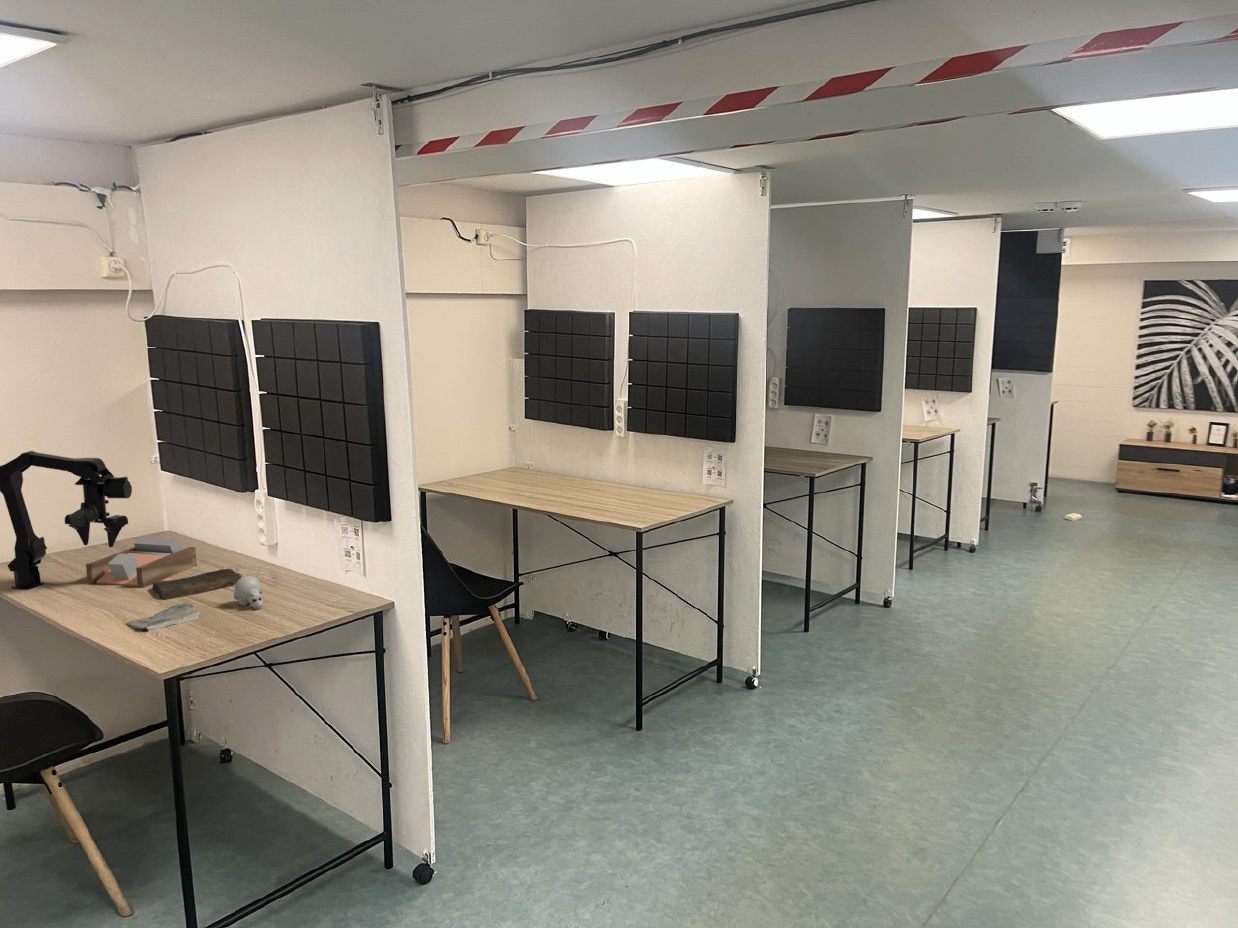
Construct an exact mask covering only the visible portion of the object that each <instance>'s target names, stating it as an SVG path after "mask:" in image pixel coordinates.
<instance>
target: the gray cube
mask: <svg viewBox="0 0 1238 928" xmlns="http://www.w3.org/2000/svg"><path fill="white" fill-rule="evenodd" d="M118 553H119V552H118ZM108 565H109V568H110V570H111V572H112V574H113V576H114V578H115V579H127V580H129V579H131V578H132V577H133V576H134V575H135V574H136V573H137V572H136V568H137V567H139V564H138V562H137V560H136V558H135V555H134V554H121V553H119V554H118V555H117V556H116V557H115V558H114V559H112V560H111V561H110V562H109V563H108Z"/></svg>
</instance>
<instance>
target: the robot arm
mask: <svg viewBox="0 0 1238 928" xmlns="http://www.w3.org/2000/svg"><path fill="white" fill-rule="evenodd" d="M31 466H32V467H38V468H44V469H51V470H55V471H57V470H58V471H63V472H67V473H71V474H72V475H74V476H76V477H79V479H78V480H77V481H76V482H75V483H74V485H76V486H82V491H83V502H81V503H80V508H79V509H77V510H76V511H74V512H73V513H69V514H66V516H65V517H64V525H68V527H70V528H72V529H74V530H76V532H77V534H78V537H80V540H81V542H82V543H83V545H84V546H88V544H89V539H90V529H91V528H90V527H91V523H95V524H103V525H104V526H105V527H104V528H103V530H104V531H105V532H106V535H107V543H108V547H109V548H113V547H114V545H115V543H116V540H117V538H118V536H119V534H120V532H121V531H122V529H123V527H125V526H126V525H129V517H127V515H121V514H119V515H118V514H115V515H111V514H110V512H107V506H106V505H107V504H109V499H129V498H130V497H131V496H132V492H133V486H132V485H131V482H130V481H129V478H128V476H121V477H118V476H117V477H115V475H114V474H113V473H112V472H111V471H110V470H109V469H108V468H107V466H106V464H105V462H104V461H103V459H102V458H99V457H78V458H77V457H76V458H72V457H67V456H60V455H55V454H48V453H47V454H46V453H41V452H37V451H35V450H34V451H33V450H30V451H25V452H23V453H20V454H19V455H18V456H17V457H15V458H14V459H11V460H10V461H8V462H6V463H4V464H2V465H0V493H1V495H2V496H3V498H4V501H5V506H6V509H7V512H8V516H9V518H10V521H11V525H12V529H13V531H14V534H15V542H14V543H15V544H14V558H13V559H12V560H11V561H10V562H9V563H8V564H7V567H8V570H9V571H10V572H13V577H14V585H11V587H10V588H11V589H19V590H29V589H33V588H35V587H36V588H37V587H39V586H41V585H44V584H45V581H41V575H40V573H41V572H40V571H39V566H38V565H39V564H41V563H42V559H43V558H44V557H45V555H46V554H47V549H48V547H47V546H46V543H45V537H44V536H41V537H38V536H37V534H36V533H35V532H34V528H33V525H32V522H31V518H30V515H29V511H28V508H27V505H26V500H25V498H24V495H23V492H22V491H23V490H22V487H23V483H24V477H23V473H24V472H26V471H27V470H28V469H29V468H31ZM106 498H107V499H106ZM110 515H111V516H110Z"/></svg>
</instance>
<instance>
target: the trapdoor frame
mask: <svg viewBox="0 0 1238 928" xmlns="http://www.w3.org/2000/svg"><path fill="white" fill-rule="evenodd" d="M129 551H137V550H136V548H135V546H133V547H131V548H128V549H125V550H122V551H120V552H117V553H114V554H111V555H109V556H106V557H103V558H99V559H96V560H95V561H91V562H88V563H86V564H85V568H86V569H85V570H86V579H87V584H88V585H95V584H98V583H97V582H96V581H97V580H99V579H100V578H101V577H102V576H103V575H104V574H105V573H106V572H108V571H109V570H110V568H109V565H108V563H109V562H110V561H111V560H112V559H114V558H115V557H116V556H117V555H118V554H119V553H121V554H128V553H129ZM197 565H198V562H197V551H196V547H195V546H189V547H186V548H182V550H181V551H178V552H176V553H173V554H170V555H168V556H165V557H163V558H160V559H157V560H155V561H152V562H150V563H147V564H144V565H142V566H139V567H137V568H136V572H137V582H138V586H137V588H139V589H140V588H142V589H143V588H147V587H149V586H151V585H153V583H154V582H159V581H164V580H165V579H168V578H171V577H172V576H173V577H174V576H175V575H177V574H179V573H182V572H184V571H186V570H190V569H191V568H194V567H196V566H197Z"/></svg>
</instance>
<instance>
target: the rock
mask: <svg viewBox="0 0 1238 928" xmlns="http://www.w3.org/2000/svg"><path fill="white" fill-rule="evenodd" d="M242 577H243V576H242V575H241V573H239V572H237V571H235V570H233V569H232V568H225V569H223V568H222V569H218V570H213V571H207V572H205V573H204V572H203V573H201V574H197V575H191V576H189V577H182V578H178V579H172V580H171V579H170V580H161V581H159V582H154V583H153V584H152V588H151V589H152V590H153V591H154V592H155V593H156V594H158V596H159V597H160V598H161V599H162V600H172V599H177V598H183V597H189V596H193V595H199V594H203V593H208V592H211V591H215V590H218V589H222V588H229V587H232V586H235V585H236V583H237V581H238V580H239V579H240V578H242Z"/></svg>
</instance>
